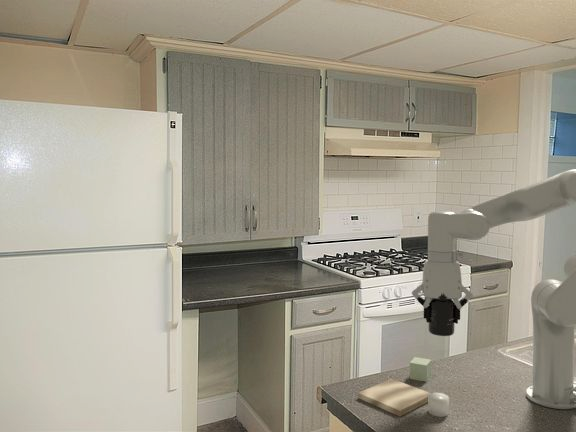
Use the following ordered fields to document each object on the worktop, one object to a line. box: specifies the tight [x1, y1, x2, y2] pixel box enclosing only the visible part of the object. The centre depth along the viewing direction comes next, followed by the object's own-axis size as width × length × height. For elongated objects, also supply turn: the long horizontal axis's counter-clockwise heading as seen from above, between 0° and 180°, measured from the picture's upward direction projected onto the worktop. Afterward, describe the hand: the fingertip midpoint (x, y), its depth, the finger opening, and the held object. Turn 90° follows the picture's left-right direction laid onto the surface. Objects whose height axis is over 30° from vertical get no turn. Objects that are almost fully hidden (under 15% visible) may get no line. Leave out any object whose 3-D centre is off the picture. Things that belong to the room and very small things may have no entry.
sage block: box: [409, 356, 432, 383], centre depth 145 cm, size 5×5×5 cm
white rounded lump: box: [427, 392, 450, 418], centre depth 124 cm, size 5×5×4 cm
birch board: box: [357, 378, 432, 417], centre depth 132 cm, size 14×14×2 cm
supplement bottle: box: [428, 293, 456, 337], centre depth 134 cm, size 7×7×12 cm
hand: (441, 321), depth 134 cm, fingers closed on supplement bottle, 6 cm apart
